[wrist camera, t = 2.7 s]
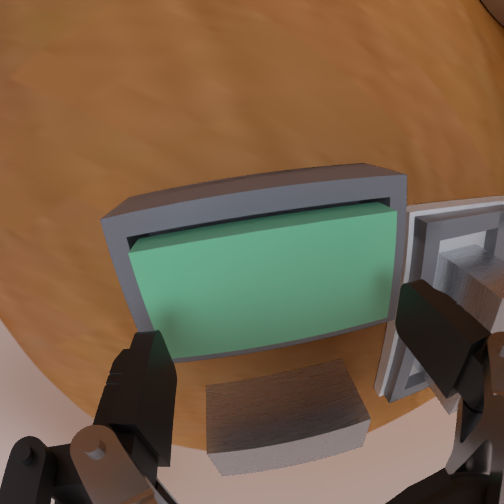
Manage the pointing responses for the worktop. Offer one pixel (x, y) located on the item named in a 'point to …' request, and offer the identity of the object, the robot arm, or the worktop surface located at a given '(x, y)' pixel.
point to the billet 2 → (470, 295)
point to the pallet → (424, 267)
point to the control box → (250, 207)
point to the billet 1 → (284, 419)
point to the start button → (267, 278)
